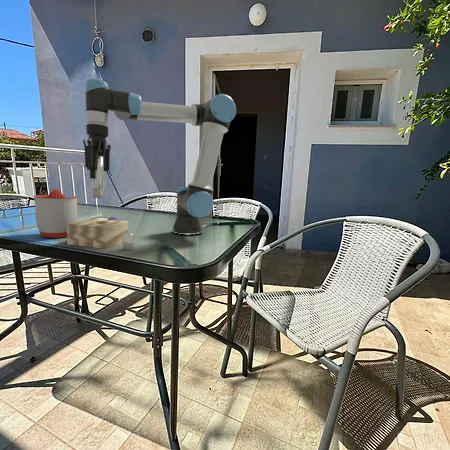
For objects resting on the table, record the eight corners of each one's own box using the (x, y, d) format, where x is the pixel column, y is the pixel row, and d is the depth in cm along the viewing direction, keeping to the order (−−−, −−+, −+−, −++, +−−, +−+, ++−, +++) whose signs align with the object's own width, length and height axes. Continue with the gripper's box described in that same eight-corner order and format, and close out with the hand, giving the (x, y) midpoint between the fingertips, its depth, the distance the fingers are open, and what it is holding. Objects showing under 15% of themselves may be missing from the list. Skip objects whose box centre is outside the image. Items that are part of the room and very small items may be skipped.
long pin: (106, 197, 107) (105, 156, 104) (99, 198, 103) (99, 155, 100) (97, 197, 108) (96, 156, 105) (90, 197, 104) (89, 155, 101)
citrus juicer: (89, 233, 122) (88, 189, 119) (56, 241, 106) (54, 190, 102) (62, 230, 126) (60, 187, 123) (26, 236, 110) (23, 187, 106)
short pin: (135, 248, 101) (135, 233, 100) (130, 251, 98) (130, 235, 97) (126, 247, 102) (126, 232, 101) (120, 250, 98) (120, 234, 97)
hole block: (128, 239, 115) (128, 221, 113) (105, 248, 99) (105, 227, 98) (94, 236, 117) (94, 218, 116) (67, 244, 102) (66, 223, 101)
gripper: (102, 129, 110) (103, 186, 114) (72, 119, 93) (74, 187, 97) (119, 129, 109) (119, 187, 112) (91, 120, 92) (92, 188, 96)
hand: (98, 187), depth 105 cm, fingers closed on long pin, 4 cm apart
